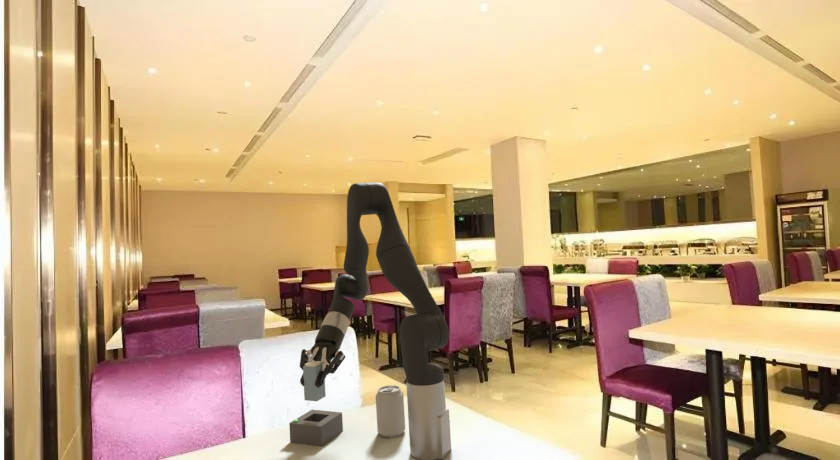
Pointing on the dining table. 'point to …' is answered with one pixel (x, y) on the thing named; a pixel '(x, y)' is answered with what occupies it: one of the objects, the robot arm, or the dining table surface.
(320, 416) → the port block
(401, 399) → the can
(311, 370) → the plug
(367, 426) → the dining table surface
